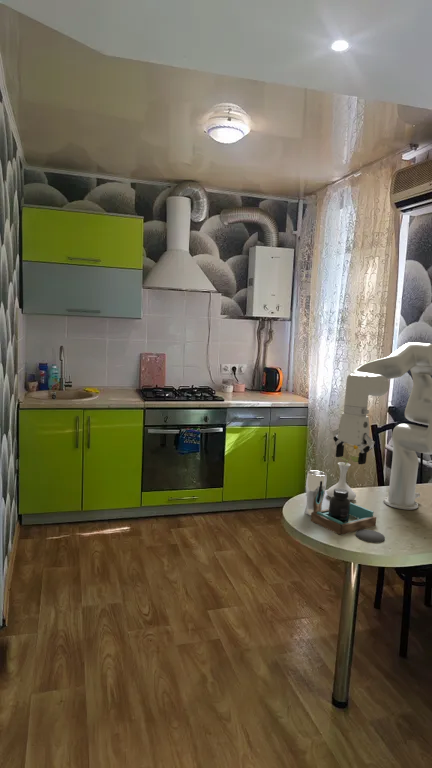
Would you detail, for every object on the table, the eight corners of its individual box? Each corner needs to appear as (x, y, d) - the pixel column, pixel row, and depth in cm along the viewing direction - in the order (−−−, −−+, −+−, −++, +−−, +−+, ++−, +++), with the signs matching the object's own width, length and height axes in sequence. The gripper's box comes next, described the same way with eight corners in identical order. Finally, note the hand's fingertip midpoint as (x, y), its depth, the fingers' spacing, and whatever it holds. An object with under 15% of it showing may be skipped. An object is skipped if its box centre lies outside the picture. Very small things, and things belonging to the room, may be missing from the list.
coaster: (367, 529, 174) (367, 527, 173) (390, 539, 166) (390, 537, 166) (349, 534, 168) (349, 532, 168) (372, 544, 161) (372, 542, 161)
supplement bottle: (323, 522, 177) (326, 488, 176) (338, 519, 181) (341, 486, 179) (337, 529, 171) (340, 494, 170) (352, 527, 175) (355, 492, 173)
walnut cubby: (345, 512, 188) (346, 504, 188) (375, 525, 177) (376, 517, 177) (310, 521, 177) (311, 512, 177) (340, 535, 167) (341, 526, 167)
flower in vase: (325, 500, 200) (331, 437, 197) (326, 491, 211) (332, 431, 208) (360, 505, 197) (367, 441, 194) (359, 496, 208) (365, 435, 205)
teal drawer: (348, 513, 187) (349, 501, 186) (372, 523, 178) (373, 511, 178) (316, 520, 177) (317, 508, 177) (340, 532, 169) (341, 519, 168)
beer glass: (323, 518, 181) (327, 476, 179) (303, 516, 182) (307, 474, 180) (322, 511, 187) (326, 471, 186) (303, 509, 188) (307, 469, 187)
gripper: (383, 414, 170) (378, 465, 172) (342, 406, 184) (338, 453, 186) (368, 415, 166) (363, 468, 168) (328, 406, 180) (323, 455, 182)
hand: (350, 460), depth 177 cm, fingers open, 9 cm apart
